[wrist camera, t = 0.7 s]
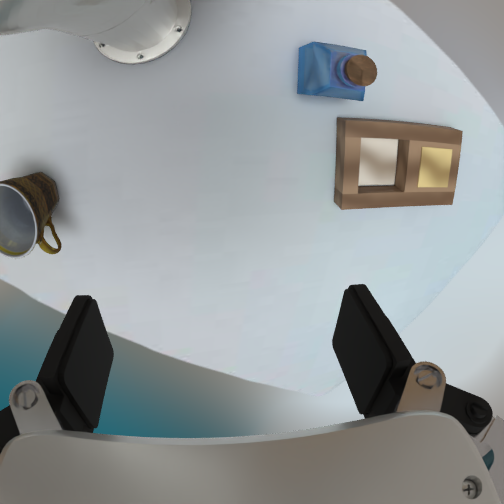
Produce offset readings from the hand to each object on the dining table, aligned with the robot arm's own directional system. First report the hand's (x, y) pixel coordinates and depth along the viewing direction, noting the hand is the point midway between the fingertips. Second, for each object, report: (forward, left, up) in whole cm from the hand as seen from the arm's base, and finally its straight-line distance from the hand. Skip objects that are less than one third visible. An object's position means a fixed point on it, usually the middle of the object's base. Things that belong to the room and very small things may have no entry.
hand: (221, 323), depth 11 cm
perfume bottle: (-10, +14, -32) cm, 36 cm away
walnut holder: (+2, +26, -31) cm, 41 cm away
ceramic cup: (+3, -25, -32) cm, 40 cm away
